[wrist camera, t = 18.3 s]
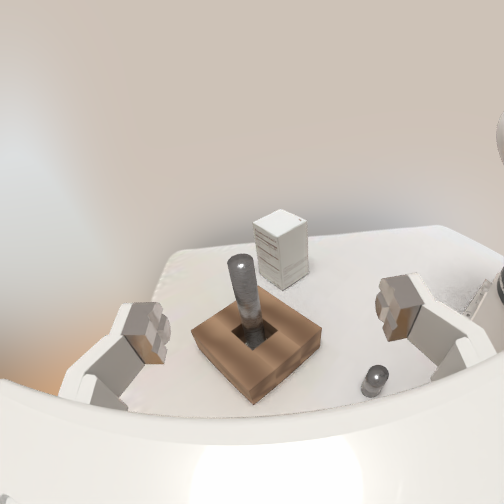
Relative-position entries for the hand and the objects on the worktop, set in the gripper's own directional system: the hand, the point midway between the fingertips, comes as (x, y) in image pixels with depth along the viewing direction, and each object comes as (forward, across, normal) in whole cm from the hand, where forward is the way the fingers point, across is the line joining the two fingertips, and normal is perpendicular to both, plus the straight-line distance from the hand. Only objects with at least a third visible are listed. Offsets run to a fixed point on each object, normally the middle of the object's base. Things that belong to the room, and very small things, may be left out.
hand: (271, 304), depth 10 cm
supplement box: (+36, -3, +30) cm, 47 cm away
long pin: (+19, +3, +30) cm, 35 cm away
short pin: (+9, -13, +30) cm, 34 cm away
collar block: (+19, +3, +30) cm, 35 cm away
